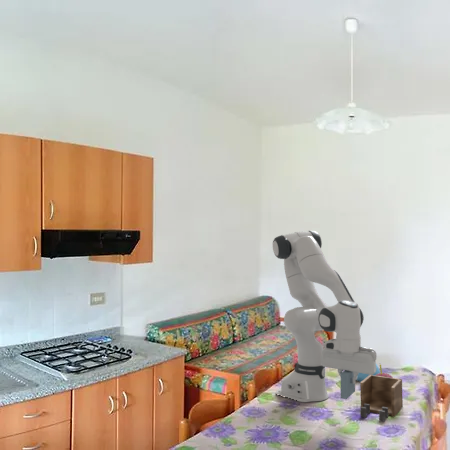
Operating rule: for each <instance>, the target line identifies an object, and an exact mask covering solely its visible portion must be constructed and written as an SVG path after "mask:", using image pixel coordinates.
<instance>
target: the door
mask: <svg viewBox="0 0 450 450" xmlns="http://www.w3.org/2000/svg"><path fill="white" fill-rule="evenodd" d="M352 377H354V375H353V372H352V371H346V370H343V371H342V373H341V377H340V399H344V400H347V399H349V398H350V397H351V396H352V395H353V394H354V393H356V383H355V384H353V383H350V378H352ZM355 381H357V377H356V379H355Z"/></svg>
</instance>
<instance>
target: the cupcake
mask: <svg viewBox="0 0 450 450" xmlns="http://www.w3.org/2000/svg"><path fill="white" fill-rule="evenodd" d="M379 371H380V373H379V374H376V376H383V377H390V378H394V377H393V376H392V375H391V374H389V373H387V372H383V371H382V364H379Z"/></svg>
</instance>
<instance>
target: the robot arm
mask: <svg viewBox="0 0 450 450" xmlns="http://www.w3.org/2000/svg"><path fill="white" fill-rule="evenodd" d="M322 244H323V243H322V238H321V235H320V233H318V232H317V231H315V230H306V231H295V232H292V233H288V234H284V235H283V234H281V235H279V236H275V237H274V239H273V240H272V250H273V251H272V252H273V253H274V255H275V257H276V258H277V259H280V260H283V265H284V266H283V267H284V274H285V278H286V282H287V286H288V291H289V294H290V296H291V297H292V298H293V299H294V300H296V301H298V302H299V303H300V305H301V306H298V307H294V308H291V309H289V310H288V311H286V312H285V315H284V317H283V318H284V319H283V323H284V326H285V329H286V330H287V331H288V332H290V334H291V335H292V336H293V337H294V340H295V343H296V346H297V361H296V362H294V364H293V365H292V368H293V369H294V370H293V371H292V372H291V373H289V374H288V375H287V376H285V377H284V378H283V379H282V381H281V386H280V388H278V389H277V390H276V392H275V394H276V393H277V394H279V395H282V396H285V397H288V398H287V399H289V398H291V399H290V400H292V399H294V400H293V401H296V400H297V402H300V403H309V402H322V401H324V400H327V399H328V398H329V394H328V391H327V386H326V379H325V378H326V368H330V369H335V370H337V373H338V376H339V377H340V378H341V373H342V372H343V371H345V370H346V371H352V372H353V375H354V377H352V378H350V383H353V384H355V385H356V380H355V379H356V377H357V375H358V374H359V373H363V374H369V375H373V374H374V373H375V372H376V364H377V362H376V360H377V352H376V350H374V349H373V348H371V347H364V346H362V345H361V344H362V343H361V341H362V339H361V335H360V334H361V333H360V332H361V331H360V329H361V327H362V326H363V323H364V314H363V313H364V312H363V311H362V309H361V308H360V306H359V305H358V303H356V302H355V300H354V298H353V297H352V295H351V293H350V291H349V290H348V287H347V286H346V284H345V283H344V281H343V279H342V278H341V276H340V274H339V273H338V272H337V271H336V270H334V269H333V268H332V267H331V265H330V264H329V263H328V261H327V260H326V257H325V255H324V253H323V250H322ZM314 283H315V284H319V285H322V286H324V287H326V288H328V289H329V290H330V291H331V292H332V293H333V295H334V298H335V300H336V301H337V303H336V304H334V305H331V306H330V305H328V304H327V303H326V302H325V301H324V300H323V298H321V296H320V294H318V292H317V289H316V286H315V284H314ZM317 331H324V332H329V333H334V332H335V333H336V336H335V337H336V338H331V339H328V340H326V341H324V343H323V344H322V342H320V341H318V340H317V339H316V336H315V332H317ZM285 397H284V398H285Z"/></svg>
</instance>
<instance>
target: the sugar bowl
mask: <svg viewBox="0 0 450 450" xmlns="http://www.w3.org/2000/svg"><path fill="white" fill-rule="evenodd" d="M379 373H381V371H380V367H379V365H378V364H377V363H376V372H375V373H374V374H373V375H376V374H379ZM368 376H369V374H363V373H359V374H358V375H357V380H356V382H362V381H363V380H364V379H365V378H367V377H368Z"/></svg>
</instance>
